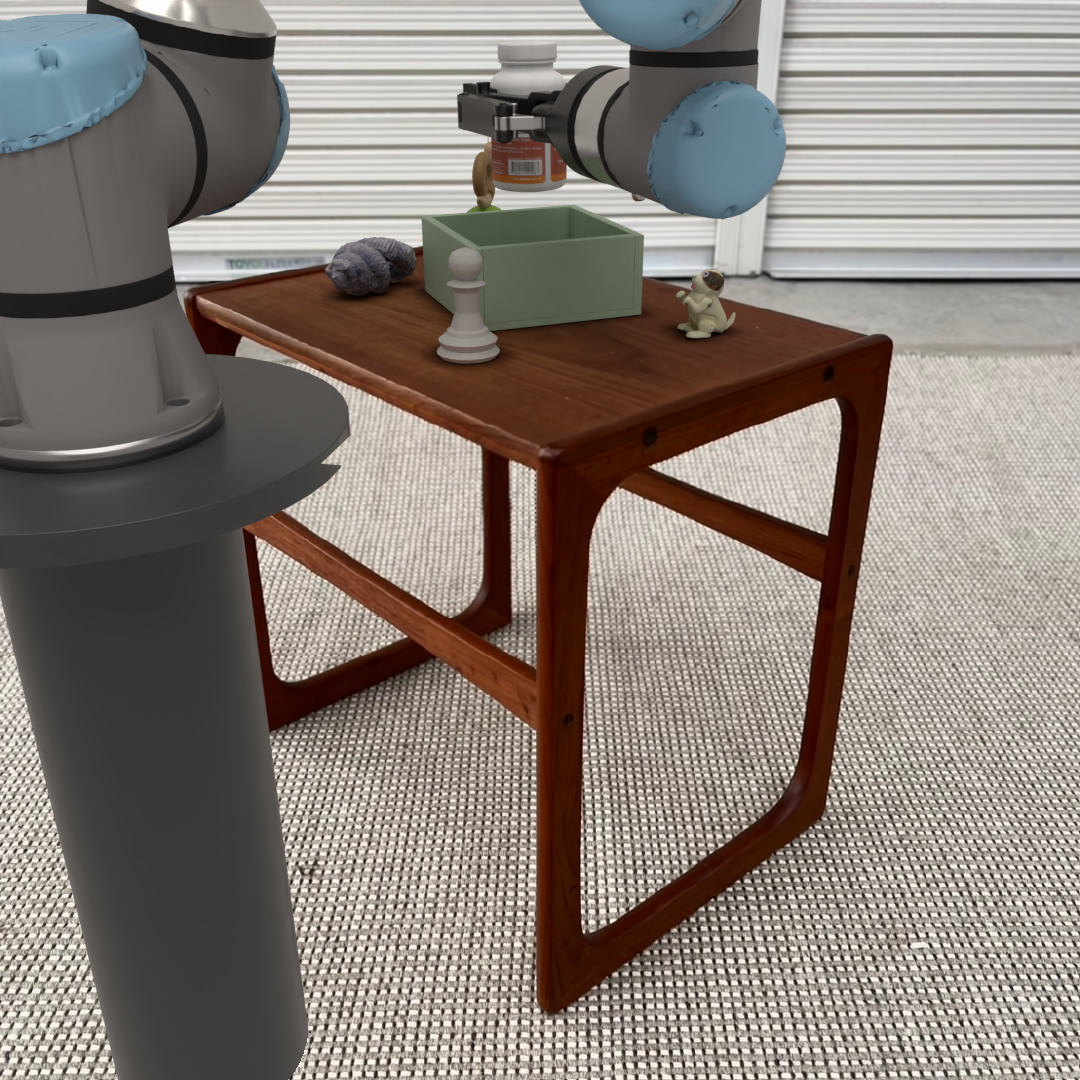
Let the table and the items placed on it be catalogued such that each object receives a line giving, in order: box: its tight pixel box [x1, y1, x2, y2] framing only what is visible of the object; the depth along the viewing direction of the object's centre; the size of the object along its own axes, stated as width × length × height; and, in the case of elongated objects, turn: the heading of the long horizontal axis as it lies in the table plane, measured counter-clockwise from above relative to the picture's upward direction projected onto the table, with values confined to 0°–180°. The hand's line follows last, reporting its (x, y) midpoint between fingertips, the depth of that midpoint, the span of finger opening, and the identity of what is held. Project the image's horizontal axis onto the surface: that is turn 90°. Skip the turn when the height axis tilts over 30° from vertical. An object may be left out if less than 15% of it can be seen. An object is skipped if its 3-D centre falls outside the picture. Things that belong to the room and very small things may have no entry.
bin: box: [420, 204, 645, 332], centre depth 98 cm, size 15×15×7 cm
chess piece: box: [436, 247, 501, 365], centre depth 84 cm, size 5×5×8 cm
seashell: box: [324, 236, 418, 297], centre depth 102 cm, size 5×5×10 cm
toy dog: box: [675, 269, 736, 339], centre depth 90 cm, size 4×5×5 cm
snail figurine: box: [465, 137, 502, 213], centre depth 112 cm, size 5×6×12 cm
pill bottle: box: [489, 40, 568, 193], centre depth 93 cm, size 6×6×11 cm
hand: (506, 98), depth 97 cm, fingers closed on pill bottle, 6 cm apart
